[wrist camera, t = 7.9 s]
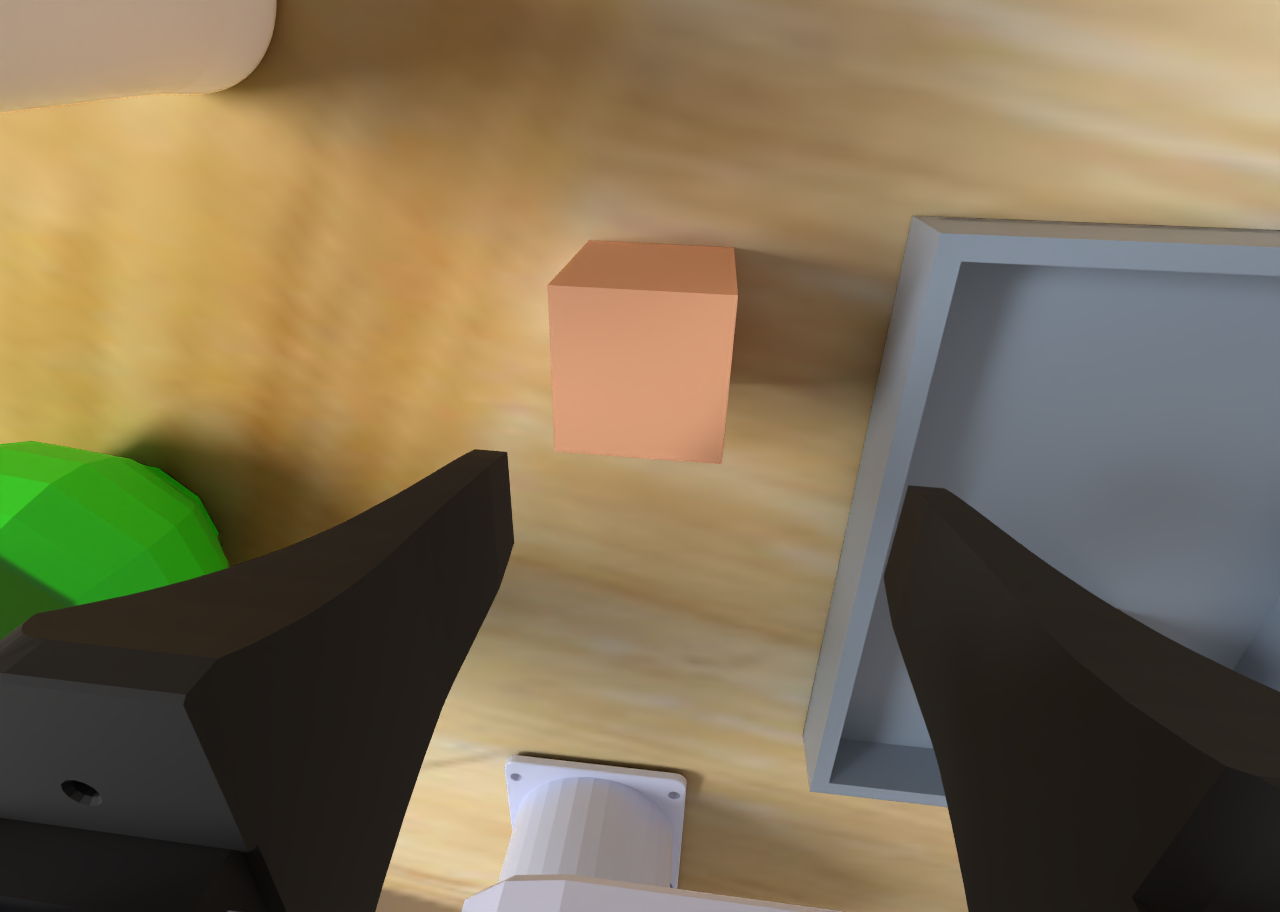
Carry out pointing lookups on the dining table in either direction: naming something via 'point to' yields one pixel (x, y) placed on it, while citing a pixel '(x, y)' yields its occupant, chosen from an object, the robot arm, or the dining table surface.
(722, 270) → the terracotta block
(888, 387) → the tray
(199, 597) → the robot arm
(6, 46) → the drinking glass
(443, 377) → the dining table surface
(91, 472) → the plastic bottle
